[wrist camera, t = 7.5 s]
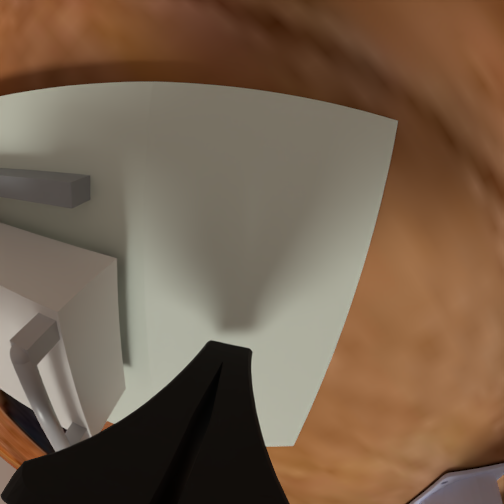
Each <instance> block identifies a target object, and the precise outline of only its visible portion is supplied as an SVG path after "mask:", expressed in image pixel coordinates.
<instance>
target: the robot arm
mask: <svg viewBox="0 0 504 504" xmlns="http://www.w3.org/2000/svg"><path fill="white" fill-rule="evenodd" d="M252 353H253V352H252V350H251V349H250V348H246V347H241V346H236V345H231V344H226V343H222V342H217V341H213V340H210V341H208V342H207V343H206V344H205V346H204V347H203V348H202V349H201V350H200V352H199V353H198V354H197V355H196V356H195V357H194V359H193V360H192V361H191V362H190V363H189V364H188V365H187V366H186V367H185V368H184V369H183V370H182V371H181V372H180V373H179V374H178V375H177V376H176V377H175V378H174V379H173V380H172V381H171V382H170V383H169V384H168V385H166V386H165V387H164V388H163V389H162V390H161V391H159V392H158V393H157V394H156V395H155V396H153V397H152V398H151V399H150V400H149V401H147V402H146V403H145V404H143V405H142V406H141V407H139V408H138V409H137V410H135V411H134V412H132V413H131V414H129V415H128V416H126V417H125V418H123V419H122V420H120V421H118V422H117V423H115V424H113V425H112V426H110V427H108V428H107V429H105V430H103V431H101V432H100V433H98V434H96V435H94V436H92V437H90V438H87V439H85V440H83V441H81V442H79V443H76V444H74V445H72V446H70V447H67V448H65V449H62V450H60V451H57V452H54V453H51V454H47V455H44V456H41V457H38V458H35V459H31V460H28V461H24V462H23V464H22V465H21V466H20V467H19V468H18V469H17V471H16V472H15V473H14V475H13V476H12V478H11V479H10V481H9V483H8V484H7V486H6V487H5V489H4V491H3V492H2V494H1V498H2V500H3V501H4V502H6V503H7V504H289V502H288V500H287V498H286V495H285V493H284V491H283V489H282V487H281V485H280V482H279V480H278V478H277V476H276V473H275V471H274V468H273V466H272V463H271V460H270V458H269V455H268V452H267V449H266V446H265V442H264V439H263V436H262V432H261V428H260V424H259V420H258V416H257V411H256V406H255V399H254V393H253V386H252V374H251V361H252ZM502 475H504V463H501V464H497V465H492V466H487V467H482V468H476V469H470V470H464V471H457V472H450V473H447V474H445V475H443V476H442V477H441V478H440V479H439V480H437V481H436V482H435V483H434V484H433V485H432V486H430V487H429V488H428V489H427V490H426V491H424V492H423V493H422V494H421V495H419V496H418V497H417V498H416V499H414V500H413V501H412V502H410V503H409V504H503V503H502V499H501V495H500V491H499V487H498V484H497V480H498V479H499V478H500V477H501V476H502Z"/></svg>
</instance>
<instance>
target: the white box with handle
mask: <svg viewBox="0 0 504 504" xmlns="http://www.w3.org/2000/svg"><path fill="white" fill-rule="evenodd" d="M0 389H2V390H3V391H5V392H6V393H7V394H9V395H10V396H12V397H13V398H15V399H16V400H18V401H20V402H21V403H23V404H24V405H26V406H27V407H29V408H31V409H32V410H33V411H34V413H35V415H36V417H37V419H38V421H39V423H40V425H41V427H42V428H43V430H44V432H45V434H46V436H47V438H48V439H49V441H50V443H51V445H52V446H53V448H54V450H55V451H56V452H57V451H60V450H62V449H65V448H67V447H70V446H72V445H74V444H76V443H79V442H81V441H83V440H85V439H87V438H90V437H92V436H94V435H96V434H98V433H100V431H101V430H102V428H103V426H104V425H105V423H106V421H107V419H108V418H109V416H110V414H111V413H112V411H113V409H114V407H115V406H116V404H117V402H118V401H119V399H120V397H121V396H122V394H123V392H124V391H125V389H126V386H125V378H124V369H123V360H122V350H121V338H120V325H119V308H118V284H117V258H114V257H111V256H108V255H106V254H103V253H97V252H93V251H90V250H87V249H83V248H80V247H77V246H73V245H70V244H67V243H63V242H60V241H57V240H54V239H50V238H47V237H44V236H41V235H38V234H35V233H31V232H28V231H25V230H22V229H19V228H16V227H13V226H10V225H7V224H4V223H1V222H0ZM61 426H62V427H64V428H66V429H68V430H67V431H66V433H64V431H63V429H62V427H61Z"/></svg>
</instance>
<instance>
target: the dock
mask: <svg viewBox="0 0 504 504" xmlns="http://www.w3.org/2000/svg"><path fill="white" fill-rule="evenodd" d="M397 125H398V121H397V120H394V119H390V118H387V117H384V116H380V115H376V114H373V113H369V112H365V111H362V110H358V109H354V108H350V107H346V106H342V105H337V104H333V103H328V102H324V101H319V100H314V99H309V98H304V97H299V96H293V95H287V94H282V93H275V92H269V91H262V90H255V89H247V88H239V87H230V86H220V85H209V84H196V83H179V82H113V83H95V84H82V85H71V86H62V87H54V88H46V89H39V90H32V91H26V92H20V93H14V94H9V95H4V96H0V222H1V223H4V224H7V225H10V226H13V227H16V228H19V229H22V230H25V231H28V232H31V233H35V234H38V235H41V236H44V237H47V238H50V239H54V240H57V241H60V242H63V243H67V244H70V245H73V246H77V247H80V248H83V249H87V250H90V251H93V252H97V253H103V254H106V255H108V256H111V257H114V258H117V284H118V308H119V325H120V338H121V350H122V360H123V369H124V378H125V386H126V389H125V391H124V392H123V394H122V396H121V397H120V399H119V401H118V402H117V404H116V406H115V407H114V409H113V411H112V413H111V414H110V416H109V418H108V419H107V421H109V422H111V423H114V424H115V423H117V422H118V421H120V420H122V419H123V418H125V417H126V416H128V415H129V414H131V413H132V412H134V411H135V410H137V409H138V408H139V407H141V406H142V405H143V404H145V403H146V402H147V401H149V400H150V399H151V398H152V397H153V396H155V395H156V394H157V393H158V392H159V391H161V390H162V389H163V388H164V387H165V386H166V385H168V384H169V383H170V382H171V381H172V380H173V379H174V378H175V377H176V376H177V375H178V374H179V373H180V372H181V371H182V370H183V369H184V368H185V367H186V366H187V365H188V364H189V363H190V362H191V361H192V360H193V359H194V357H195V356H196V355H197V354H198V353H199V352H200V350H201V349H202V348H203V347H204V346H205V344H206V343H207V342H208V341H210V340H213V341H217V342H222V343H226V344H231V345H236V346H241V347H246V348H250V349H251V350H252V352H253V353H252V361H251V374H252V386H253V393H254V399H255V406H256V411H257V416H258V420H259V424H260V428H261V432H262V436H263V439H264V442H265V446H266V447H267V446H294V444H295V441H296V439H297V437H298V435H299V433H300V431H301V429H302V427H303V424H304V422H305V420H306V418H307V416H308V413H309V411H310V409H311V407H312V404H313V402H314V400H315V397H316V395H317V393H318V390H319V388H320V385H321V383H322V381H323V378H324V376H325V373H326V371H327V368H328V366H329V363H330V361H331V358H332V355H333V353H334V350H335V348H336V345H337V342H338V340H339V337H340V334H341V331H342V329H343V326H344V323H345V320H346V317H347V315H348V312H349V309H350V306H351V303H352V300H353V297H354V294H355V291H356V288H357V285H358V281H359V278H360V275H361V272H362V269H363V265H364V262H365V259H366V255H367V252H368V248H369V245H370V241H371V238H372V234H373V231H374V227H375V223H376V220H377V216H378V212H379V208H380V204H381V200H382V196H383V192H384V187H385V183H386V179H387V174H388V170H389V165H390V161H391V156H392V151H393V146H394V141H395V136H396V130H397Z"/></svg>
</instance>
